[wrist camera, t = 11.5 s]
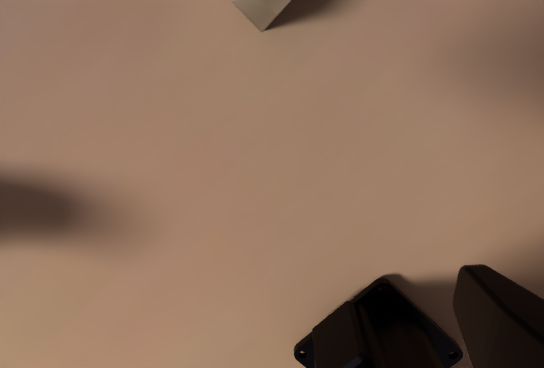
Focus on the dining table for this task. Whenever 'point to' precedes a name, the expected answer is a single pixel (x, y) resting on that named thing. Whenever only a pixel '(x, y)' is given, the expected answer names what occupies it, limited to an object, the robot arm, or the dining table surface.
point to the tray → (261, 10)
